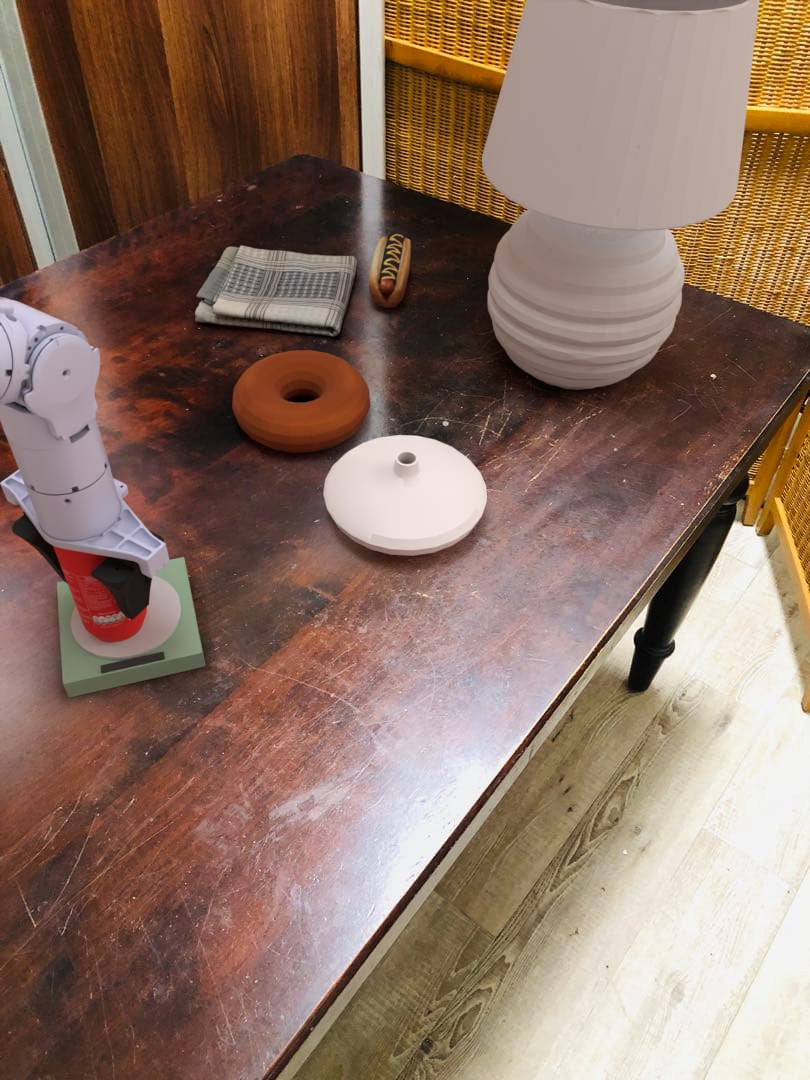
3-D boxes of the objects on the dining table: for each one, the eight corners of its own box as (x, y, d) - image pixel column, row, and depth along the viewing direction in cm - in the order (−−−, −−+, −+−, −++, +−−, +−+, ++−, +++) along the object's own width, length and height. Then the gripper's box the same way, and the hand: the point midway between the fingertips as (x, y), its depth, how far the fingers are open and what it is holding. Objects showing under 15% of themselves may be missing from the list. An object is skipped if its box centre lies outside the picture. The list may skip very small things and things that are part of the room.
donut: (271, 481, 89) (267, 443, 86) (212, 402, 98) (206, 364, 94) (396, 434, 95) (397, 397, 91) (330, 363, 103) (328, 326, 100)
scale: (68, 698, 71) (61, 681, 69) (62, 596, 78) (55, 579, 76) (205, 666, 73) (201, 649, 72) (187, 571, 81) (183, 553, 79)
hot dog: (363, 314, 111) (363, 278, 107) (375, 261, 120) (376, 226, 116) (403, 317, 110) (404, 282, 107) (412, 264, 119) (413, 229, 116)
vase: (305, 477, 90) (301, 423, 85) (447, 445, 94) (452, 392, 89) (353, 589, 80) (352, 536, 75) (511, 548, 84) (520, 494, 79)
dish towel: (360, 266, 119) (360, 244, 116) (339, 341, 106) (339, 318, 104) (225, 255, 119) (222, 232, 117) (189, 328, 107) (185, 305, 105)
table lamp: (711, 353, 107) (839, -26, 78) (614, 461, 93) (727, 47, 64) (533, 283, 117) (587, -76, 88) (421, 370, 103) (442, -23, 74)
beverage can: (76, 644, 72) (36, 543, 63) (96, 595, 75) (61, 493, 66) (139, 649, 72) (108, 549, 63) (156, 599, 75) (128, 498, 66)
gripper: (185, 472, 61) (210, 598, 71) (34, 401, 65) (78, 527, 75) (111, 535, 56) (149, 659, 66) (-44, 453, 61) (13, 580, 71)
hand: (107, 593), depth 71 cm, fingers open, 6 cm apart
